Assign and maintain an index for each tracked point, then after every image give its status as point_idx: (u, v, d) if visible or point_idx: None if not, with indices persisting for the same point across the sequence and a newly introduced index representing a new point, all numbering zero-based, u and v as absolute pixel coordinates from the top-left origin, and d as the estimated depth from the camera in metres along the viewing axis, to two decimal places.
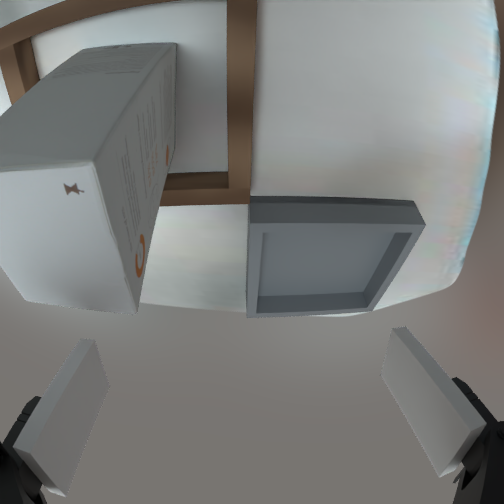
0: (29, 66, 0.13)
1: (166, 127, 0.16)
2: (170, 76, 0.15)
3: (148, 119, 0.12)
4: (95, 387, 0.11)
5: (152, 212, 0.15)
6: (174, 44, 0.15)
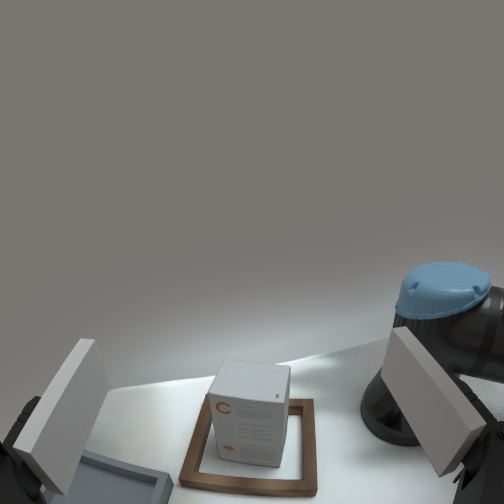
0: None
1: (245, 450, 0.32)
2: (267, 458, 0.32)
3: (266, 434, 0.30)
4: (95, 387, 0.11)
5: (223, 424, 0.31)
6: (279, 465, 0.32)
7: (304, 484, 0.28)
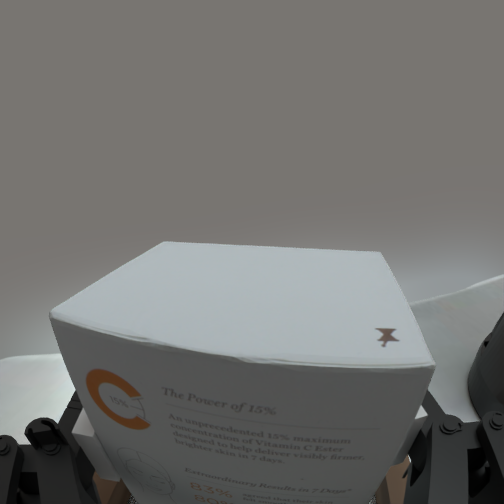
0: None
1: None
2: None
3: None
4: None
5: (137, 465, 0.07)
6: None
7: None
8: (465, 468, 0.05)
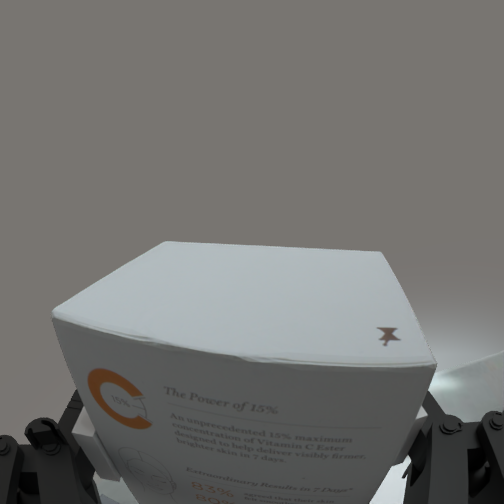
0: None
1: None
2: None
3: None
4: None
5: (138, 465, 0.07)
6: None
7: None
8: (465, 468, 0.05)
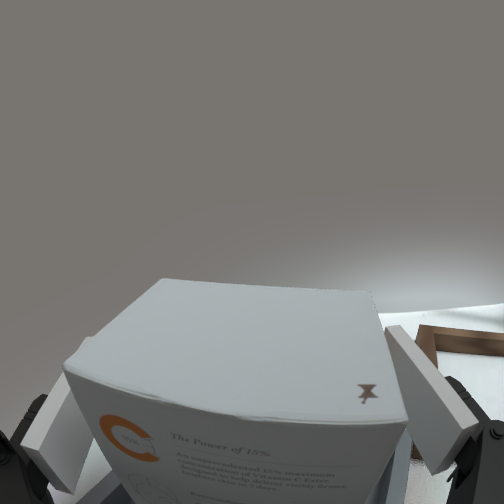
0: None
1: None
2: None
3: None
4: None
5: (146, 488, 0.07)
6: None
7: None
8: None
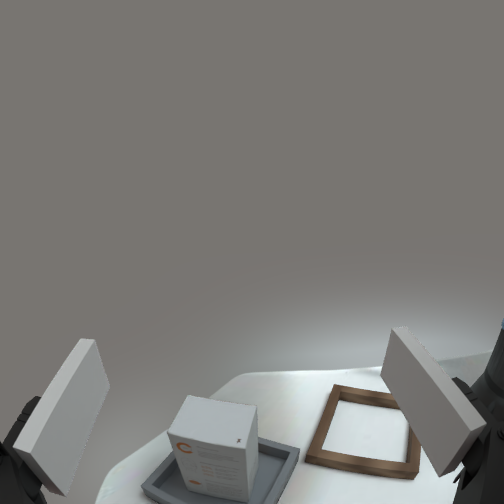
0: None
1: (211, 486, 0.28)
2: (234, 494, 0.28)
3: (230, 474, 0.27)
4: (95, 387, 0.11)
5: (186, 462, 0.27)
6: (248, 501, 0.28)
7: (409, 467, 0.30)
8: None
